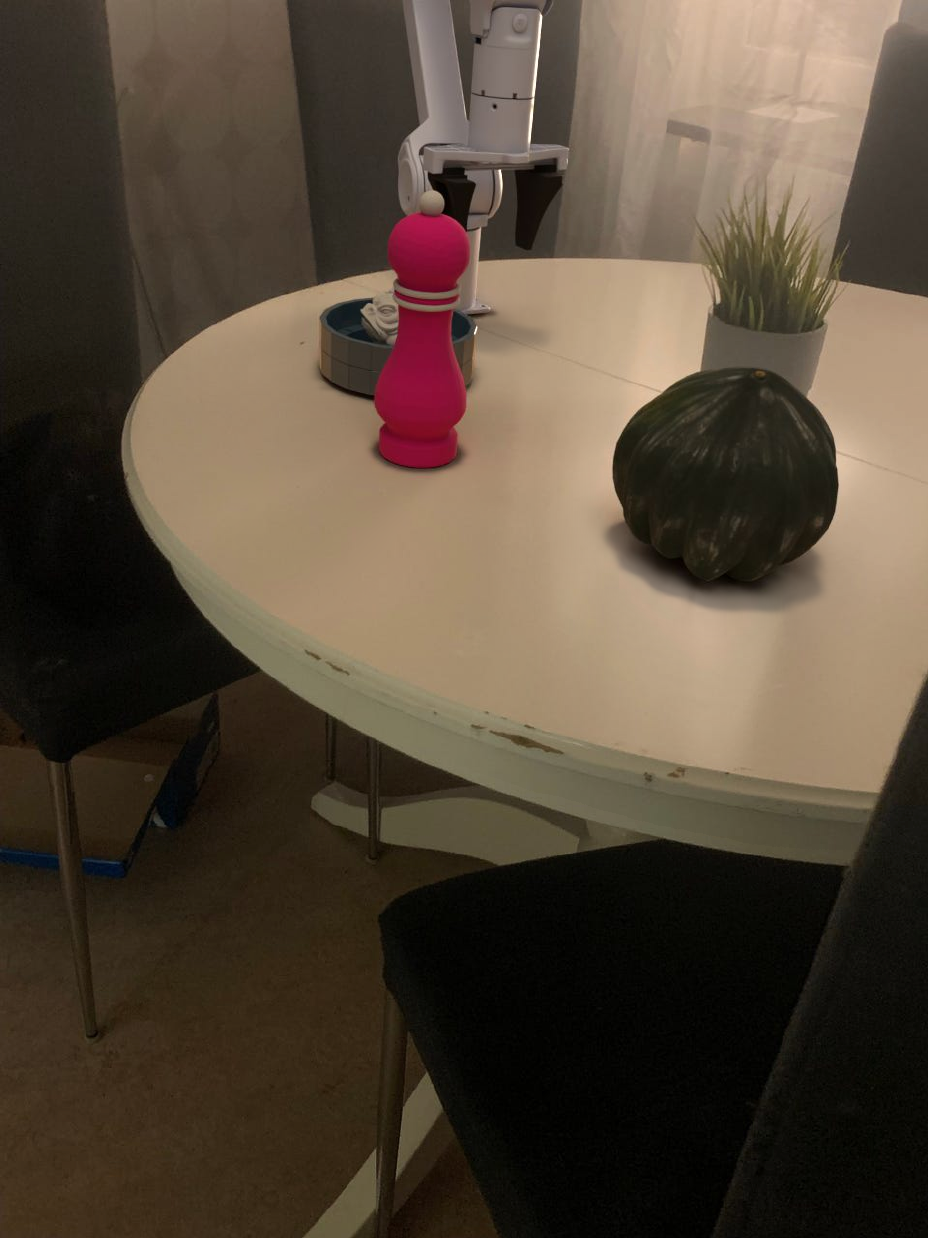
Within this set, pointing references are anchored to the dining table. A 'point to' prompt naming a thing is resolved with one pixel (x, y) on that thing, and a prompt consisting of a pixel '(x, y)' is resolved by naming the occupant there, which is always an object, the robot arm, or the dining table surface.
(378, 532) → the dining table surface
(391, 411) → the pepper mill
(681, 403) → the squash
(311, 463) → the dining table surface
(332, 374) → the bowl
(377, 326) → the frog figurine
